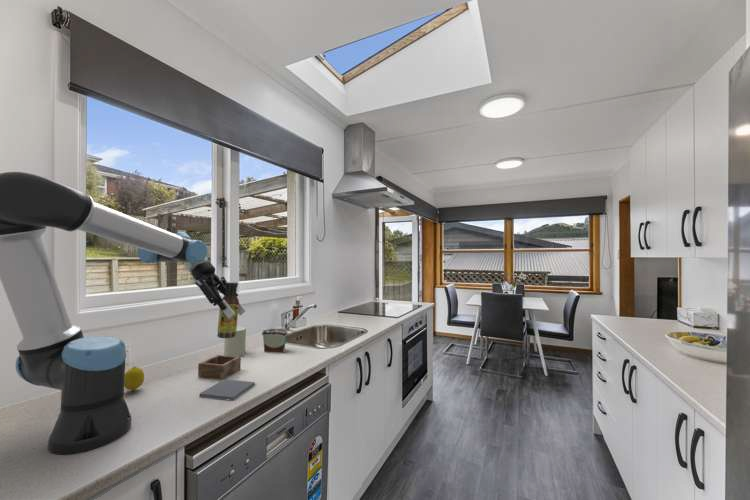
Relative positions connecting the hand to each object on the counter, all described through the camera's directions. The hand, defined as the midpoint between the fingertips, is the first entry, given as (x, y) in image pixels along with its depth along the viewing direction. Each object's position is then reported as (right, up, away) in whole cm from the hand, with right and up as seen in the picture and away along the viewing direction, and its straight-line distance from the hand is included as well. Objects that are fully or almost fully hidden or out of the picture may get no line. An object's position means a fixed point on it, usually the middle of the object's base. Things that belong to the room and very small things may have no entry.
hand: (237, 314), depth 111 cm
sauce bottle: (-4, -8, 0) cm, 9 cm away
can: (-15, -25, +30) cm, 42 cm away
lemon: (-30, -24, -10) cm, 40 cm away
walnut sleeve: (-10, -24, +7) cm, 27 cm away
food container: (+2, -25, +36) cm, 44 cm away
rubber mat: (+1, -24, -8) cm, 25 cm away
